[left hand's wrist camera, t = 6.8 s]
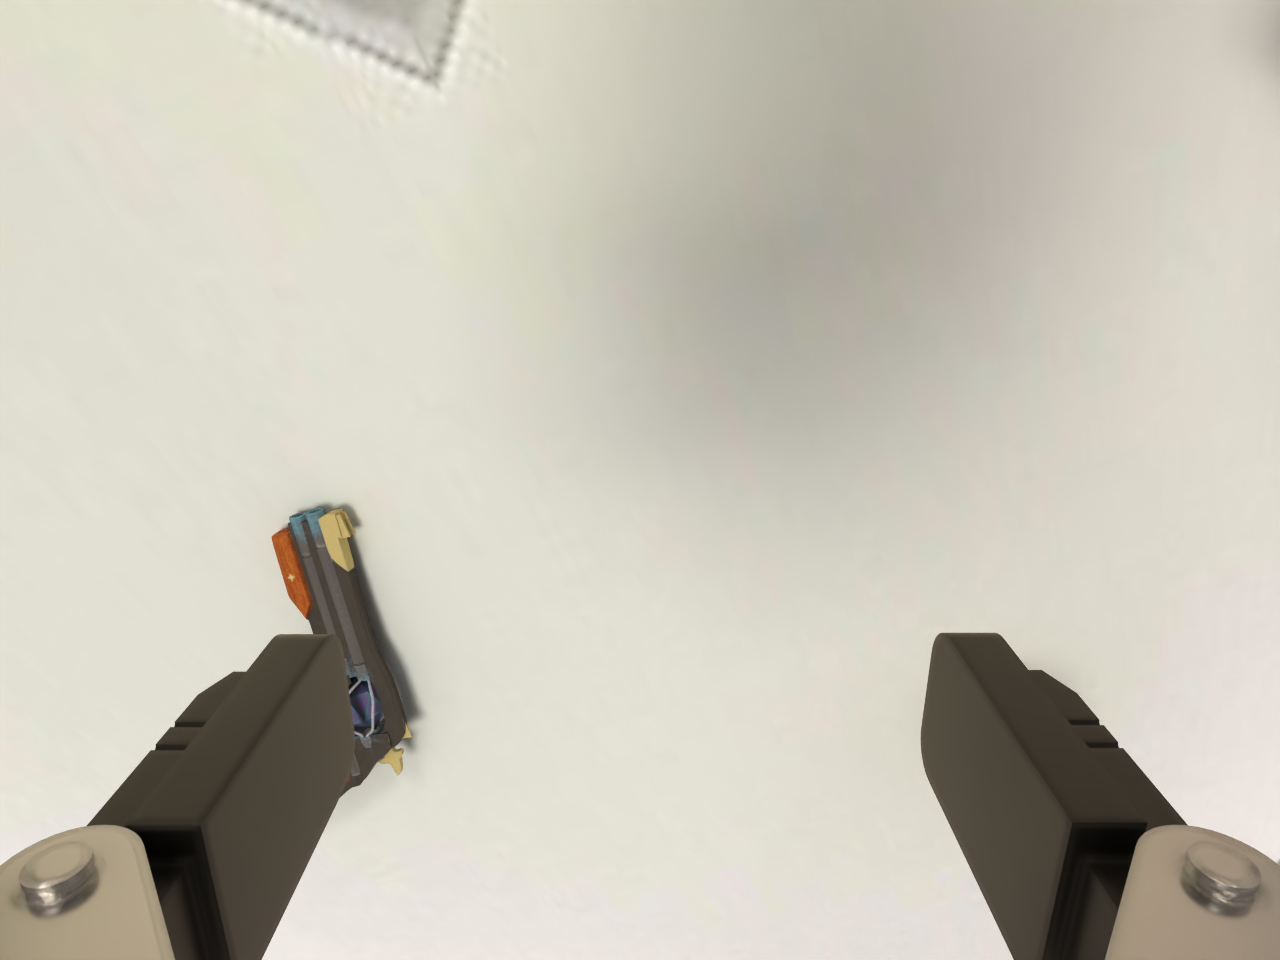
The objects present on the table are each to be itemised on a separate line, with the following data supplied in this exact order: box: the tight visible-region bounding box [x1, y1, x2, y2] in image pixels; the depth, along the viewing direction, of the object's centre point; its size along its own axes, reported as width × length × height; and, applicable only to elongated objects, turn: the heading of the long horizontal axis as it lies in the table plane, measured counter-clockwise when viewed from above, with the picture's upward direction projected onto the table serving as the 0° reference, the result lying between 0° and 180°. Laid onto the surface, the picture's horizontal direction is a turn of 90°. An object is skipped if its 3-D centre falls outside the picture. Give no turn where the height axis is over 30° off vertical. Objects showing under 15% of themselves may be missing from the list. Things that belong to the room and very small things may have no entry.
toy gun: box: [272, 508, 412, 797], centre depth 47 cm, size 3×19×10 cm
